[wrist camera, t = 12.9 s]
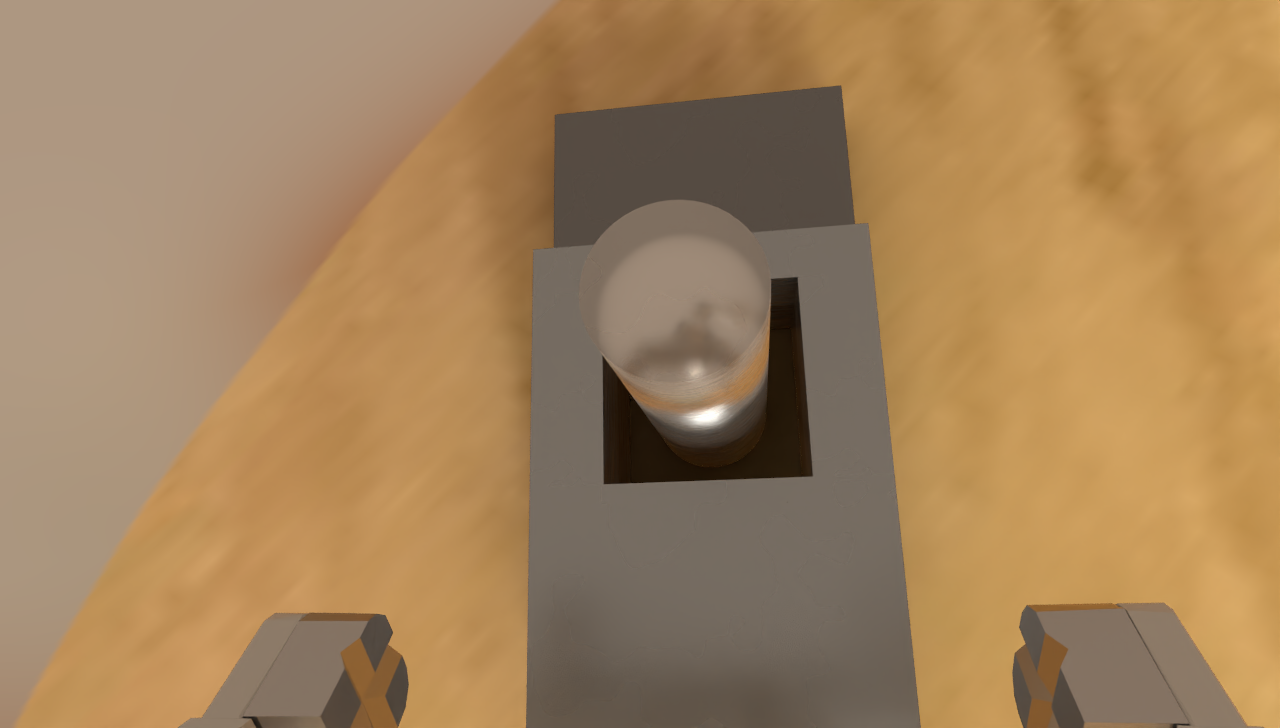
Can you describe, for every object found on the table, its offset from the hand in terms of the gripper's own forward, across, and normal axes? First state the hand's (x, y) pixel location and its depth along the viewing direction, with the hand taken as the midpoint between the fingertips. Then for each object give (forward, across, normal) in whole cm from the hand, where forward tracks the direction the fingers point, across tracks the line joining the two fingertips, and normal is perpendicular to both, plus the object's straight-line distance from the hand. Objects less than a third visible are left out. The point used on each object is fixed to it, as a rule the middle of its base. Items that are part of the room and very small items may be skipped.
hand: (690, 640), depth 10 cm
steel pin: (+11, 0, +4) cm, 12 cm away
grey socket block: (+11, 0, +4) cm, 12 cm away
